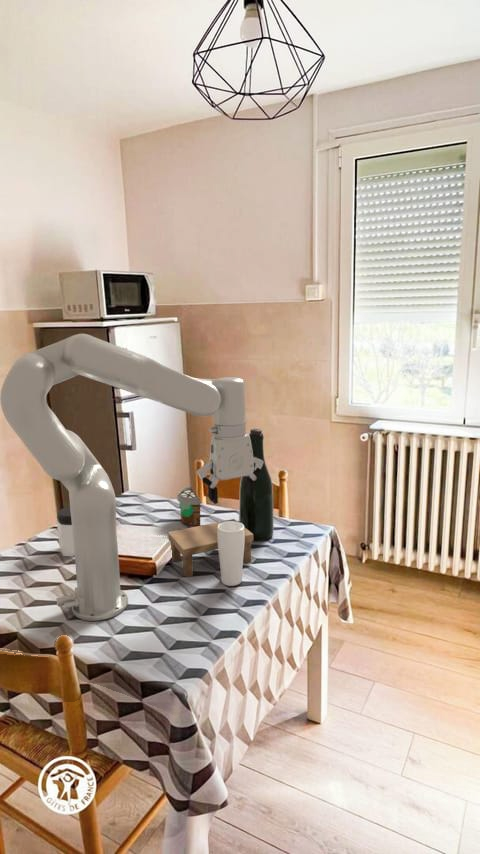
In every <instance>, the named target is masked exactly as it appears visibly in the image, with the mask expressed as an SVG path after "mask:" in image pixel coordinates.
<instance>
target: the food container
mask: <svg viewBox="0 0 480 854" xmlns="http://www.w3.org/2000/svg"><path fill="white" fill-rule="evenodd" d="M176 498H177V501H178V502H179V511H180V519H181V523H182V525H184V526H186V527H189V528H192V527H197V526H201V506H202V505H201V504H202V503H201V502H202V501H201V497H198V495H197V494H196V492H195V491H194V489H193V486H188V487H183V488H181V489H180V490H179V491H178V494H177V497H176Z"/></svg>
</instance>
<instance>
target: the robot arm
mask: <svg viewBox="0 0 480 854" xmlns="http://www.w3.org/2000/svg"><path fill="white" fill-rule="evenodd" d="M77 376H82V377H85V378H88V379H91V380H94V381H97V382H100V383H103V384H106V385H108V386H111V387H115V388H118V389H119V390H122V391H126V392H128V393H131V394H133V395H136V396H139V397H141V398H145V399H148V400H152V401H154V402H158V403H160V404H162V405H165V406H168V407H170V408H173V409H176V410H179V411H182V412H184V413H187V414H191V415H194V416H197V417H201V418H206V417H210V416H213V424H212V425H213V426H211V427H209V428H208V432H209V434H212V435H213V436H211V441H210V448H209V459H208V460H209V461H208V462H207V463H205V464H204V465H202V466H201V467H200V468H199V469H198V470H196V474H197V476H199V477H198V478H200V480H201V482H203V483H204V484H205V485H206V486H207V490H208V493H207V494H208V500H209V501H210V502H212V503H213V504H214V505H216V504H218V503H219V496H218V493H219V491H218V487H216V486H217V485H218V483H219V482H220V481H227V480H232V479H238V478H242V477H244V476H247V478H246V479H245V492H246V494H248V495H249V496H251V497H252V496H254V491H255V484H254V481H255V480H256V477H257V476H258V474H259V473H260V472H261V468H262V466H263V463H264V461H263V460H261V459H258V458H256V457H253V451H252V445H251V440H250V436H249V434H250V433H247V427H246V426H247V423H246V422H247V421H246V420H247V419H246V418H247V416H246V413H247V412H246V384H245V381H244V379H242V378H239V377H235V376H233V377H229V376H227V377H226V376H225V377H219V378H198V377H197V378H196V377H193V376H189V375H187V374H185V373H182V372H179V371H177V370H175V369H172V368H170V367H168V366H166V365H163V364H162V363H159V362H158V361H156V360H155V359H152V358H150V357H148V356H146V355H143V354H140V353H137V352H134V351H132V350H129V349H127V348H124V347H121V346H119V345H116V344H113V343H110V342H108V341H106V340H103V339H101V338H98V337H95V336H93V335H90V334H87V333H78V334H73V335H72V336H69V337H67V338H64V339H62V340H60V341H58V342H55V343H52V344H50V345H47V346H44V347H41V348H39V349H36V350H32V351H30V352H28V353H25V354H23V355H21V356H20V357H19V358H18V359H16V360H15V362H14V363H13V364H12V366H11V368H10V369H9V371H8V372H7V374H6V377H5V379H4V380H3V383H2V386H1V390H0V407H1V410H2V413H3V416H4V417H5V420H6V421H7V423H8V424H9V427H11V429H12V430H13V431H14V433H15V434H16V435H17V437H18V438H19V439H20V441H22V443H23V445H24V446H25V447H26V448H27V450H28V451H29V453H30V454H31V455H32V457H34V460H36V461H37V463H38V464H39V466H40V467H41V468H42V470H43V471H44V472H45V474H46V475H48V476H49V477H50V478H52V479H53V480H56V481H60V483H62V485H63V486H64V487H65V488H66V490H67V491H68V496H69V498H68V499H69V507H70V511H71V520H72V532H73V544H74V553H75V556H74V562H75V576H76V585H77V586H76V587H74V592H72V593H70V595H69V594H68V595H66V596H65V595H62V596H59V597H55V598H56V606H57V607H61V606H63V609H64V610H67V609H71V612H72V614H73V615H74V617H76V618H78V619H81V620H83V621H88V622H89V621H93V622H94V621H95V622H96V621H104V620H108V619H110V618H113V617H115V616H117V615H119V614H121V613H122V612H123V611H124V610H125V609H126V608H127V606H128V604H129V597H128V595H127V593H126V592H125V591H123V590H122V589H121V579H120V578H121V577H120V563H119V561H120V560H119V546H118V533H117V532H118V530H117V500H116V494H115V489H114V487H113V485H112V481H111V479H110V477H109V474H108V473H107V472H106V470H105V469H104V468H103V466H102V465H101V463H100V462H99V461H98V459H97V458H96V457H95V456H94V454H93V453H92V452H91V450H90V449H89V447H88V446H87V445H86V443H84V441H83V440H82V439H81V437H80V436H79V435H78V434H76V433H75V432H73V431H72V430H69V429H66V428H65V427H64V425H63V424H62V422H61V421H60V419H59V418H58V417H57V416H56V413H55V412H53V411H52V409H51V408H50V407H49V405H48V402H47V401H48V400H47V395H48V393H49V392H50V390H51V389H52V387H53V386H54V385H57V384H60V383H62V382H65V381H67V380H70V379H72V378H74V377H77ZM254 463H256V465H255V467H254ZM208 472H209V474H210V475H209V477H207V475H206V474H207V473H208Z"/></svg>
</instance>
